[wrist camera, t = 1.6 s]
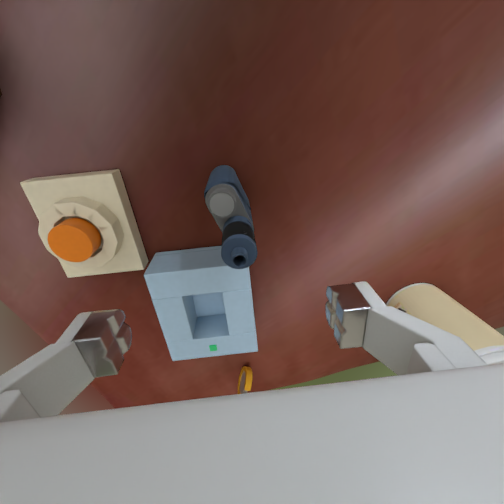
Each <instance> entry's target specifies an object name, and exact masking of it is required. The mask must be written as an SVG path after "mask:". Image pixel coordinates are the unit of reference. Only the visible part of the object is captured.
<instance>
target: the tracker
mask: <svg viewBox="0 0 504 504" xmlns="http://www.w3.org/2000/svg"><path fill="white" fill-rule="evenodd" d="M251 385H252V370H251V368H250V367H246V366H244V367H243V368H242V370H241V372H240V376H239V381H238V394H244V393H247V391H250V390H251Z"/></svg>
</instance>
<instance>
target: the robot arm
mask: <svg viewBox="0 0 504 504" xmlns="http://www.w3.org/2000/svg"><path fill="white" fill-rule="evenodd" d="M326 296H327V298H328V299H329V300H328V301H327V303H326V309H325V311H326V318H327V321H328V324H329V326H330V327H331V328H332V329H334V337H335V339H336V341H337V343H338V345H339V347H340V349H343V348H354V347H363V348H364V349H365V350H366V351H367V352H369V353H370V354H371V355H373V356H374V357H375V358H376V359H378V360H379V361H380V362H382V363H383V364H384V365H386V366H387V367H388V368H389V369H391V370H392V371H393V372H395V373H396V374H397V375H398V376H390V377H381V378H373V379H364V380H356V381H347V382H339V383H331V384H322V385H313V386H305V387H297V388H288V389H279V390H270V391H262V392H253V393H244V394H236V395H228V396H219V397H211V398H202V399H194V400H185V401H177V402H168V403H160V404H151V405H143V406H134V407H126V408H117V409H109V410H100V411H92V412H83V413H75V414H66V415H58V414H59V413H60V412H61V411H62V410H63V409H64V408H65V407H66V406H67V405H68V404H69V403H70V402H72V401H73V400H74V399H75V398H76V397H77V396H78V394H80V393H81V392H82V391H83V390H84V389H85V388H86V387H87V385H89V384H90V383H91V382H92V381H93V380H94V378H95V377H102V376H109V375H116V374H118V372H119V370H120V368H121V366H122V363H123V361H124V357H123V354H124V353H125V352H127V351H128V350H129V348H130V345H131V340H132V333H131V329H130V326H129V325H128V324H126V323H125V322H124V320H125V318H126V316H125V314H124V312H123V310H120V309H115V310H104V311H95V312H84V313H80V314H78V315H77V316H76V318H75V319H74V320H73V322H72V323H71V324H70V325H69V327H68V328H67V329H66V330H65V332H64V333H63V334H62V336H61V337H60V338H59V339H58V341H57V342H56V343H55V344H50V345H49V346H47V347H46V348H44V349H43V350H41V351H39V352H38V353H36V354H35V355H33V356H31V357H30V358H28V359H27V360H25V361H23V362H22V363H20V364H19V365H17V366H15V367H14V368H12V369H11V370H9V371H7V372H6V373H4V374H3V375H1V376H0V504H504V363H500V364H491V365H488V364H487V363H486V362H485V361H484V360H483V359H482V358H481V357H480V356H479V355H478V354H477V353H475V352H474V351H473V350H472V349H471V348H470V347H469V346H468V345H467V344H466V343H465V342H464V341H463V340H462V339H461V338H460V337H458V336H455V335H453V334H451V333H449V332H447V331H444V330H442V329H440V328H438V327H436V326H433V325H431V324H429V323H427V322H425V321H423V320H420V319H418V318H416V317H414V316H412V315H409V314H407V313H405V312H403V311H401V310H398V309H396V308H394V307H392V306H386V305H385V303H384V302H383V301H382V300H381V298H380V297H379V296H378V295H377V294H376V292H375V291H374V290H373V289H372V288H371V286H370V285H369V284H368V283H367V282H365V281H363V282H356V283H352V284H343V285H335V286H327V289H326ZM57 415H58V416H57Z"/></svg>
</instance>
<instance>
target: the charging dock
mask: <svg viewBox="0 0 504 504" xmlns="http://www.w3.org/2000/svg"><path fill="white" fill-rule="evenodd" d="M221 248H222V246H214V247H204V248H195V249H186V250H176V251H167V252H158V253H155V255H154V257H153V259H152V261H151V262H150V264H149V266H148V268H147V270H146V272H145V273H144V277H145V280H146V283H147V286H148V289H149V292H150V295H151V298H152V302H153V305H154V308H155V310H156V313H157V316H158V319H159V322H160V325H161V328H162V331H163V334H164V337H165V340H166V343H167V346H168V349H169V352H170V355H171V358H172V360H173V361H176V360H185V359H194V358H203V357H212V356H220V355H229V354H238V353H247V352H256V351H258V346H257V336H256V327H255V318H254V308H253V299H252V290H251V280H250V271H249V267H247V268H244V269H234V268H231V267H229V266H228V265H226V264H225V263H224V261H223V259H222V257H221Z"/></svg>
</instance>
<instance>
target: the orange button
mask: <svg viewBox="0 0 504 504" xmlns="http://www.w3.org/2000/svg"><path fill="white" fill-rule="evenodd" d="M48 244H49V247H50V248H51V250H52V251H53V252H54V253H55V254H56V255H57V256H58V257H60V258H62V259H64V260H66V261H70V262H82V261H85V260H87V259H88V258H90V257H91V256H92V255H93V253H94V252H95V251H96V250H97V249H98V248H99V247H100V245H101V236H100V233H99V231H98V229H97V228H96V227H95V226H94V225H93V224H92V223H90V222H88V221H86V220H84V219H81V218H69V219H66V220H64V221H63V222H61V223H60V224H58V225H57V226H55V227H54V228H52V229H51V230H50V232H49V234H48Z"/></svg>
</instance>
